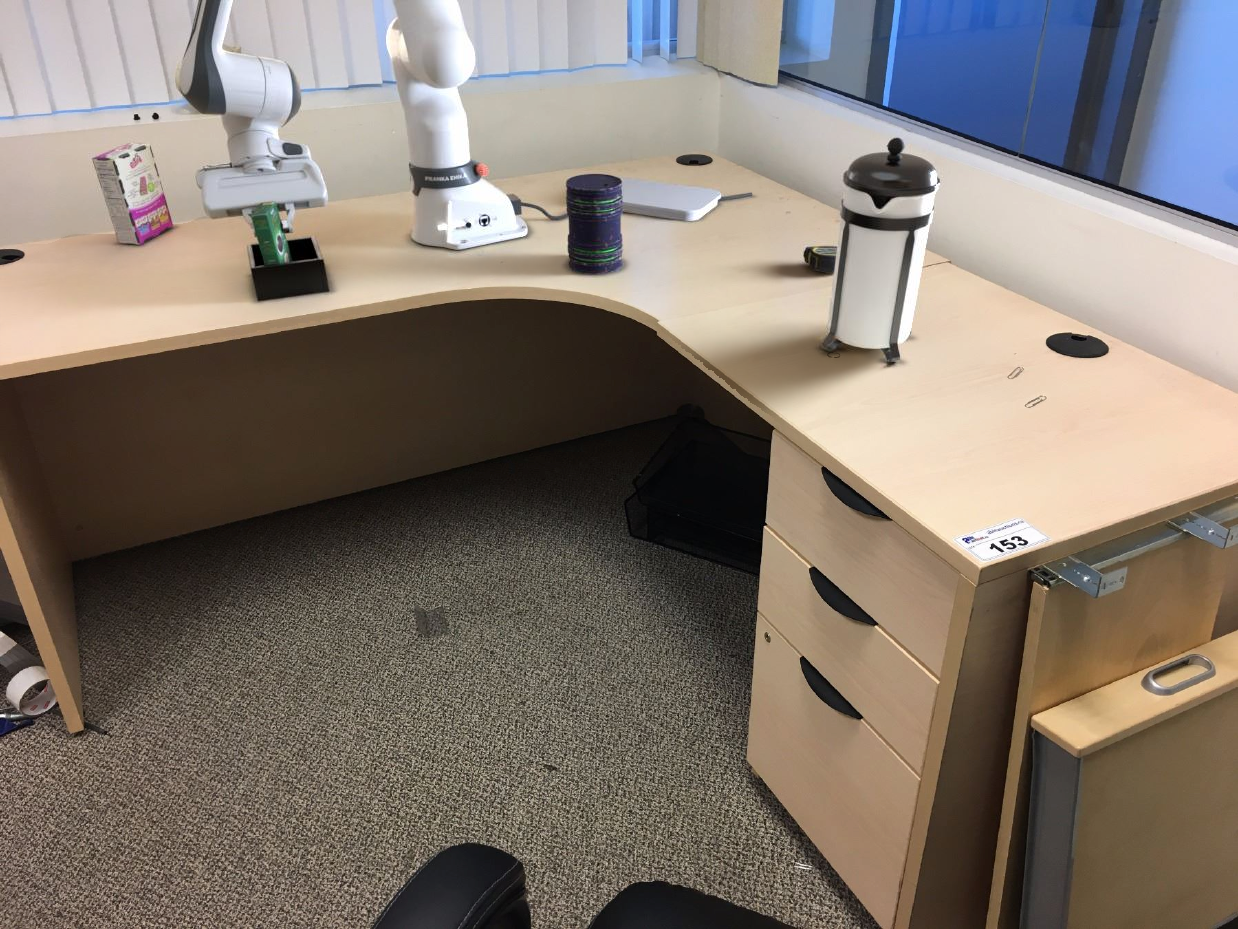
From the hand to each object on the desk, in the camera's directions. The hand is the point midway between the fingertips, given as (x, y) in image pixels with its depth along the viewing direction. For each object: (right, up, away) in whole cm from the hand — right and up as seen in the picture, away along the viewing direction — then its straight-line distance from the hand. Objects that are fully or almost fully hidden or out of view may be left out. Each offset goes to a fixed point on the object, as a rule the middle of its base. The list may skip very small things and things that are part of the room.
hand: (273, 233), depth 159 cm
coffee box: (+1, -8, +3) cm, 9 cm away
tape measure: (+95, -4, +8) cm, 95 cm away
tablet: (+66, +16, +40) cm, 79 cm away
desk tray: (+2, -8, +3) cm, 9 cm away
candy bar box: (-34, +5, +25) cm, 42 cm away
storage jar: (+54, -3, +10) cm, 55 cm away
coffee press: (+96, -20, -17) cm, 99 cm away
